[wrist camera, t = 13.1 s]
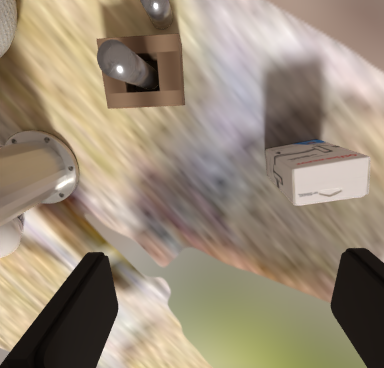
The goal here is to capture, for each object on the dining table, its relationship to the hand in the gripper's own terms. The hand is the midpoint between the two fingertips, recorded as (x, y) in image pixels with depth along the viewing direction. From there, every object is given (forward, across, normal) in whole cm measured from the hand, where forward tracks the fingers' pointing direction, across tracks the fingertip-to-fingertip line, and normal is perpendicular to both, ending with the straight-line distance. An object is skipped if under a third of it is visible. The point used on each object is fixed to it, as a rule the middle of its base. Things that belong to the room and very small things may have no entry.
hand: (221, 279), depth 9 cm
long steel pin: (+28, +8, -11) cm, 31 cm away
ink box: (+28, -14, +2) cm, 32 cm away
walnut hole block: (+28, +8, -11) cm, 31 cm away
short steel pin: (+28, +6, -18) cm, 34 cm away
